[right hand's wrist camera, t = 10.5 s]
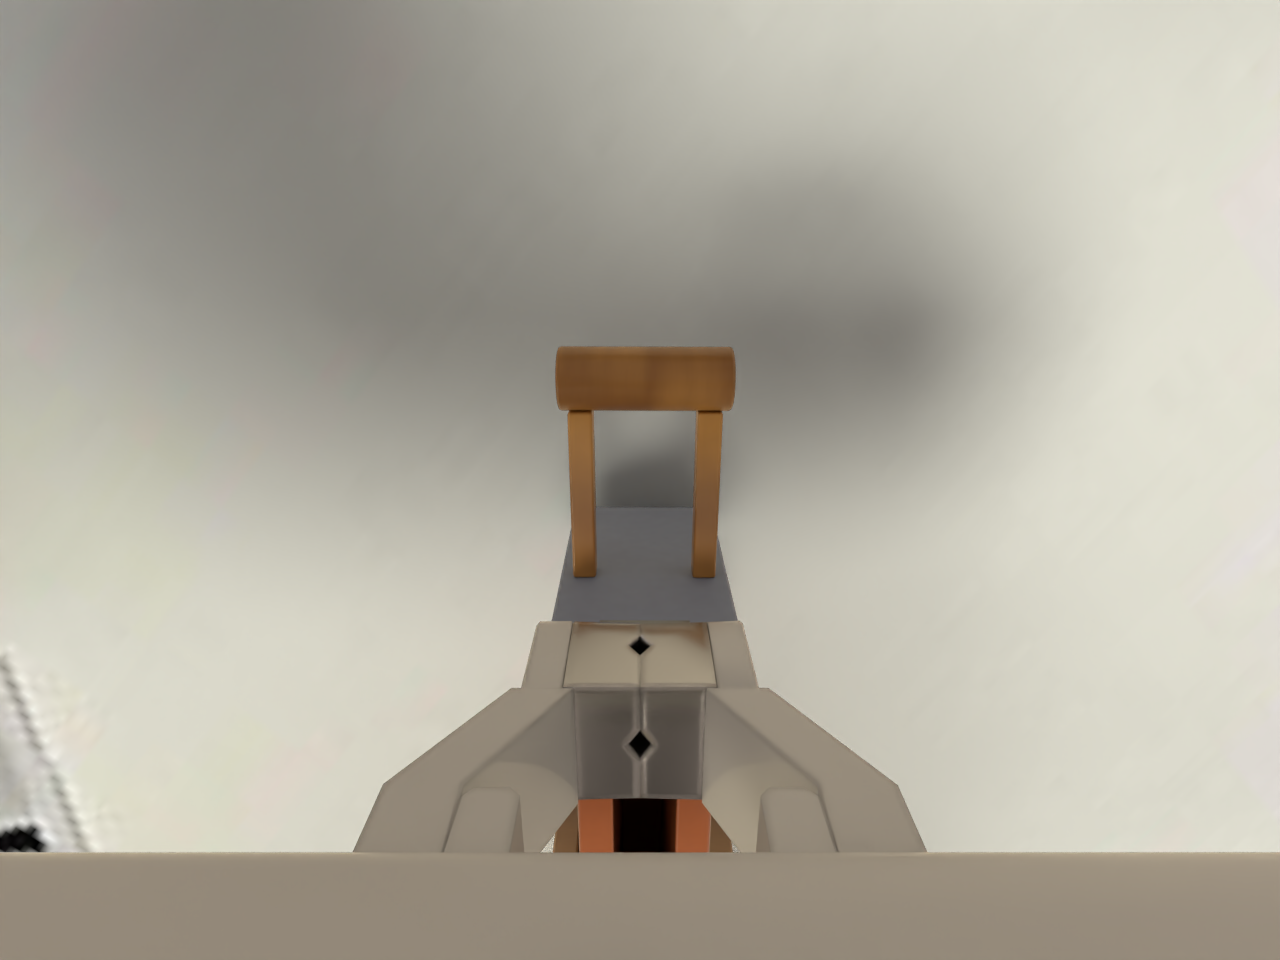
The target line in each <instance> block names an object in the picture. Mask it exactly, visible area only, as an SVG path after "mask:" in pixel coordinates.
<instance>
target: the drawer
mask: <svg viewBox="0 0 1280 960" xmlns="http://www.w3.org/2000/svg"><path fill="white" fill-rule="evenodd" d="M555 382H556V398H557V404H558V407H559V409H560V410H569V412H568V415H567V416H568V444H569V472H570V500H571V531H570V536H569V541H568V546H567V551H566V555H565V560H564V565H563V570H562V574H561V579H560V584H559V589H558V594H557V598H556V603H555V608H554V613H553V617H552V621H572V622H573V623H574V621H578V622H628V623H640V624H652V623H692V622H719V621H738V620H737V616H736V612H735V607H734V603H733V599H732V595H731V591H730V586H729V582H728V578H727V574H726V569H725V565H724V561H723V557H722V552H721V548H720V544H719V540H718V536H717V530H718V509H719V487H720V466H721V445H722V423H723V414H722V411H729V410H731V409H732V406H733V403H734V396H735V383H736V366H735V355H734V351H733V349H732V348H731V347H590V346H561V347H559V348H558V350H557V354H556V368H555ZM594 410H599V411H696V430H695V461H694V492H693V507H596V489H595V443H594ZM578 829H579V853H696V852H709V848H710V829H711V814H710V813H709V811H708V810H707V809H706V807H705V806H704V805H703V803H702V800H692V799H656V798H622V799H587V800H578Z"/></svg>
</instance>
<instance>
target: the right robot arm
mask: <svg viewBox="0 0 1280 960" xmlns="http://www.w3.org/2000/svg"><path fill="white" fill-rule="evenodd" d="M622 798H656V799H692V800H702V803H703V805H704V806H705V807H706V809H707V810H708V811H709V813H710V814H711V815H712V816H713V818H714V819H715V820H716V822H717V823H718V824H719V826H720V827H721V828H722V829H723V831H724V832H725V833H726V835H727V836H728V837H729V839H730V840H731V841H732V842H733V844H734V845H735V846H736V848H737V849H738V850H739V852H696V853H540V852H541V851H542V849H543V848H544V847H545V846H546V844H547V843H548V842H549V840H550V839H551V838H552V837H553V835H554V834H555V833H556V831H557V830H558V829H559V827H560V826H561V825H562V824H563V822H564V821H565V820H566V818H567V817H568V816H569V814H570V813H571V812H572V811H573V809H574V808H575V807H576V805H577V804H578V800H587V799H622ZM0 960H1280V852H927V850H926V848H925V846H924V844H923V841H922V839H921V837H920V835H919V832H918V830H917V828H916V826H915V823H914V821H913V819H912V817H911V814H910V812H909V810H908V807H907V805H906V803H905V801H904V798H903V796H902V794H901V792H900V789H899V787H898V785H897V784H895V783H894V782H893V781H891V780H890V779H889V778H887V777H886V776H885V775H883V774H882V773H881V772H879V771H878V770H877V769H875V768H874V767H873V766H871V765H870V764H869V763H867V762H866V761H865V760H863V759H862V758H861V757H859V756H858V755H857V754H855V753H854V752H853V751H851V750H850V749H849V748H847V747H846V746H845V745H844V744H842V743H841V742H840V741H838V740H837V739H836V738H834V737H833V736H832V735H830V734H829V733H828V732H826V731H825V730H824V729H822V728H821V727H820V726H818V725H817V724H816V723H814V722H813V721H812V720H810V719H809V718H808V717H806V716H805V715H804V714H802V713H801V712H800V711H798V710H797V709H796V708H794V707H793V706H792V705H790V704H789V703H788V702H786V701H785V700H784V699H782V698H781V697H780V696H778V695H777V694H776V693H774V692H773V691H772V690H770V689H769V688H759V687H758V683H757V679H756V675H755V671H754V667H753V663H752V659H751V655H750V651H749V647H748V643H747V639H746V635H745V631H744V627H743V624H742V623H741V622H740V621H719V622H692V623H652V624H640V623H628V622H578V621H574V623H573V622H572V621H540V622H539V624H538V625H537V626H536V630H535V634H534V638H533V642H532V646H531V650H530V654H529V658H528V662H527V666H526V670H525V675H524V679H523V683H522V687H521V688H511V689H510V690H508V691H507V692H506V693H504V694H503V695H502V696H500V697H499V698H498V699H496V700H495V701H494V702H492V703H491V704H490V705H488V706H487V707H486V708H484V709H483V710H482V711H480V712H479V713H478V714H476V715H475V716H474V717H472V718H471V719H470V720H468V721H467V722H466V723H464V724H463V725H462V726H460V727H459V728H458V729H456V730H455V731H454V732H452V733H451V734H450V735H448V736H447V737H446V738H444V739H443V740H442V741H440V742H439V743H438V744H436V745H435V746H433V747H432V748H431V749H429V750H428V751H427V752H425V753H424V754H423V755H421V756H420V757H419V758H417V759H416V760H415V761H413V762H412V763H411V764H409V765H408V766H407V767H405V768H404V769H403V770H401V771H400V772H399V773H397V774H396V775H395V776H393V777H392V778H391V779H389V780H388V781H387V782H385V783H384V784H383V786H382V788H381V790H380V792H379V795H378V797H377V799H376V801H375V804H374V806H373V808H372V810H371V812H370V815H369V817H368V819H367V821H366V824H365V826H364V828H363V830H362V833H361V835H360V837H359V839H358V841H357V844H356V846H355V848H354V850H353V852H169V853H79V852H78V853H76V852H0Z"/></svg>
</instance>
